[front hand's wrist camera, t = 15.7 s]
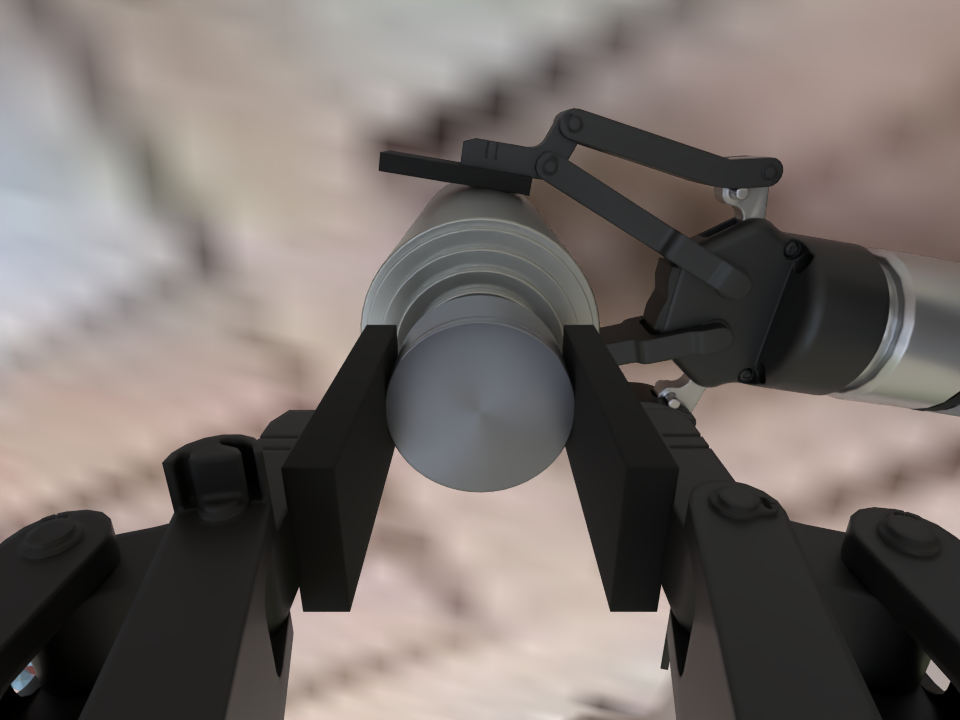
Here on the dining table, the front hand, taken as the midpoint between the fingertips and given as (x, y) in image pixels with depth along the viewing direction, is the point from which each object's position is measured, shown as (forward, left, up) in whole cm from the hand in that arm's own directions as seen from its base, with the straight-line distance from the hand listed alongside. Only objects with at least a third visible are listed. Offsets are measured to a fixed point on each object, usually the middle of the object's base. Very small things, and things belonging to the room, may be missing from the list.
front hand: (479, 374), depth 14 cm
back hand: (-5, +1, -13) cm, 14 cm away
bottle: (0, 0, -19) cm, 19 cm away
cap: (0, 0, +2) cm, 2 cm away
